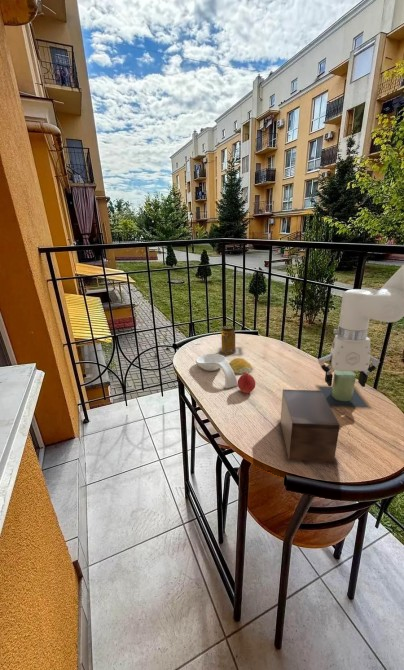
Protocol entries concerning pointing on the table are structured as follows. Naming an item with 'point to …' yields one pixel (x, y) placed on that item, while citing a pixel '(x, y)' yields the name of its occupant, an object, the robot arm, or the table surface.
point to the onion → (246, 383)
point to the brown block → (308, 426)
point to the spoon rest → (216, 362)
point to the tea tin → (343, 385)
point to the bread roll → (240, 365)
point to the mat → (332, 401)
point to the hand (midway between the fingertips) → (344, 384)
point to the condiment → (228, 340)
